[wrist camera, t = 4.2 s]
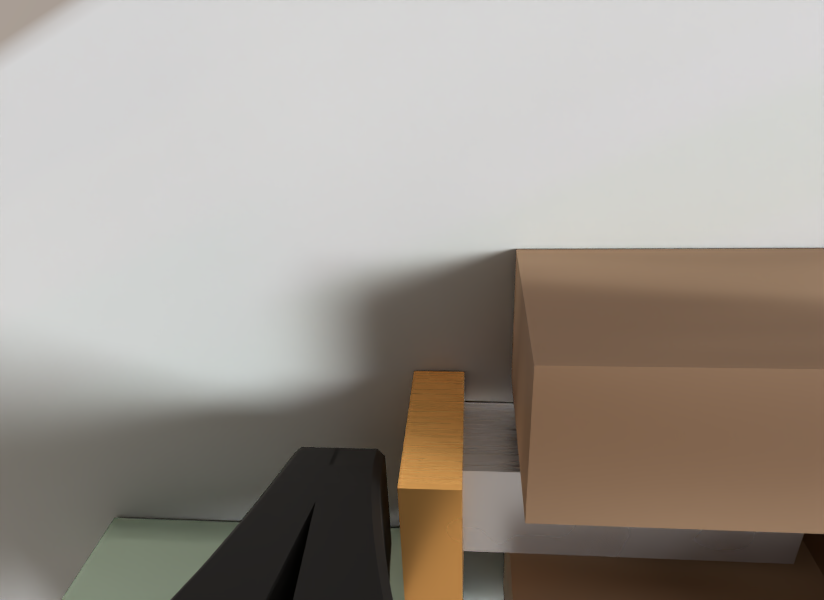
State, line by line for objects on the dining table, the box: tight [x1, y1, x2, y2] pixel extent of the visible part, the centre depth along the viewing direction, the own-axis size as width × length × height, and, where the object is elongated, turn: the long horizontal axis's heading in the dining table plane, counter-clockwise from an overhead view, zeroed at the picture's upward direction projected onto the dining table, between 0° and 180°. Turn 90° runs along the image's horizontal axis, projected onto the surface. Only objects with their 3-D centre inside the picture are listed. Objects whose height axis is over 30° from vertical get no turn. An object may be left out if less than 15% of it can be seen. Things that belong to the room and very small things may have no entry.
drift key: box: [397, 371, 804, 600], centre depth 9 cm, size 3×6×3 cm, turn 92°
